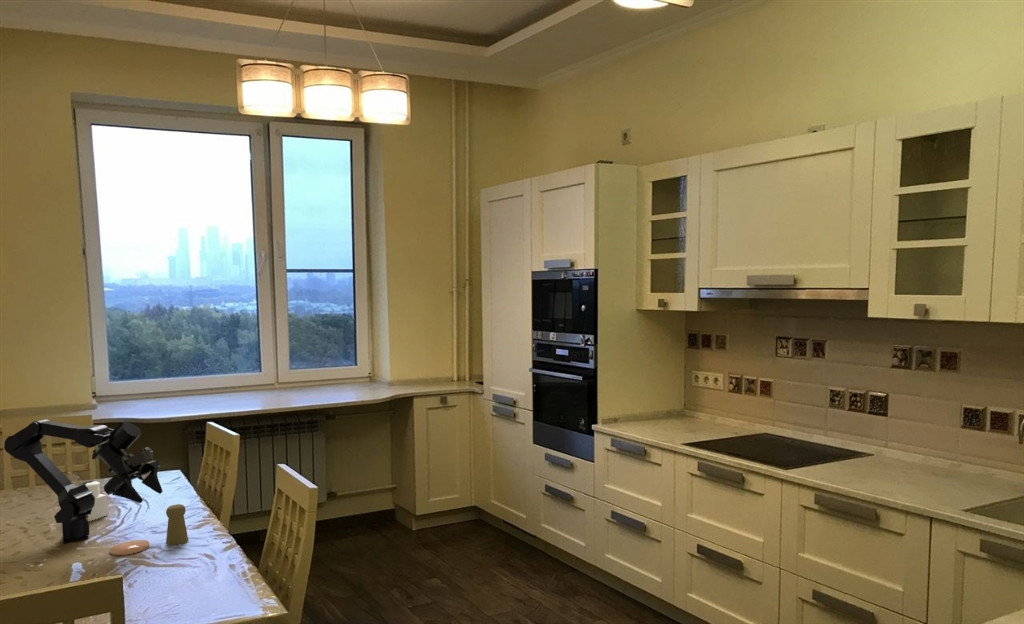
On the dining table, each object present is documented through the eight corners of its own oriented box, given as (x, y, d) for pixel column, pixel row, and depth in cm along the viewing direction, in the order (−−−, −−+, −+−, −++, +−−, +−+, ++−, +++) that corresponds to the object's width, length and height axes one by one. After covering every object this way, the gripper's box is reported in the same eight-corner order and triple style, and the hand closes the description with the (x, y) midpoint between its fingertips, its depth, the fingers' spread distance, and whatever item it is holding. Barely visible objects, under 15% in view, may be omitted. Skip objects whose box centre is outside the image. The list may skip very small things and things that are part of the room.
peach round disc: (112, 558, 195) (112, 555, 195) (108, 548, 203) (107, 545, 203) (152, 549, 201) (152, 546, 201) (146, 540, 209) (146, 537, 209)
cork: (179, 546, 203) (177, 509, 203) (161, 545, 204) (159, 508, 204) (192, 538, 209) (191, 502, 209) (175, 537, 210) (173, 501, 210)
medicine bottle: (72, 520, 229) (71, 484, 229) (93, 513, 236) (91, 478, 236) (88, 522, 227) (86, 486, 226) (108, 515, 233) (106, 480, 233)
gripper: (112, 448, 199) (148, 488, 198) (154, 434, 217) (187, 470, 216) (87, 474, 200) (123, 514, 199) (131, 458, 219) (164, 494, 218)
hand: (151, 497), depth 208 cm, fingers open, 9 cm apart
